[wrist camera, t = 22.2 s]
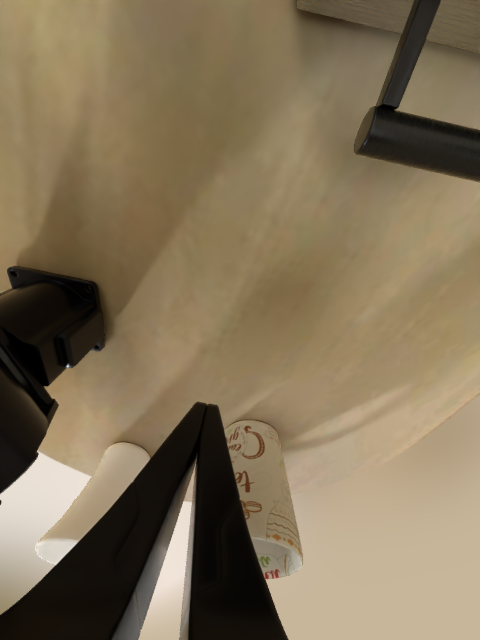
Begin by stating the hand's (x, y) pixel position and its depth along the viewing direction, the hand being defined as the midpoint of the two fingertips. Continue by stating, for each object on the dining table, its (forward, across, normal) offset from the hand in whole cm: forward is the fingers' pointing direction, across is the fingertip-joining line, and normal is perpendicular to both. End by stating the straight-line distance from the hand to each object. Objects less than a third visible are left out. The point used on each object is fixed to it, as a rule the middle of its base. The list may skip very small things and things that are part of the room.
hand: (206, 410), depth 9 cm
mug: (+11, -6, +18) cm, 22 cm away
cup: (+11, +9, +24) cm, 28 cm away
